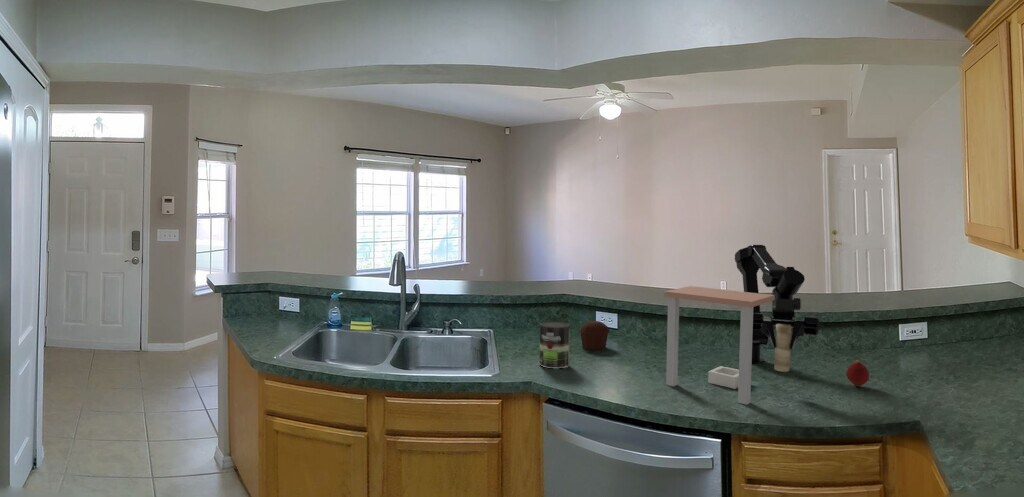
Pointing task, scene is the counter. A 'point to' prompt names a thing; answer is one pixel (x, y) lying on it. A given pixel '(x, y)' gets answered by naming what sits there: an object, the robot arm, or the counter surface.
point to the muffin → (594, 335)
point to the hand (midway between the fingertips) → (782, 348)
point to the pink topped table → (746, 329)
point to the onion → (857, 373)
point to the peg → (782, 347)
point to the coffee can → (554, 344)
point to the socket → (724, 377)
